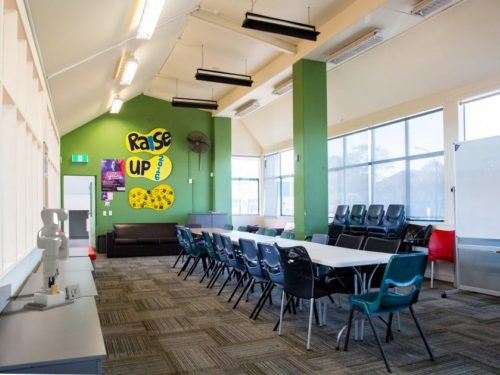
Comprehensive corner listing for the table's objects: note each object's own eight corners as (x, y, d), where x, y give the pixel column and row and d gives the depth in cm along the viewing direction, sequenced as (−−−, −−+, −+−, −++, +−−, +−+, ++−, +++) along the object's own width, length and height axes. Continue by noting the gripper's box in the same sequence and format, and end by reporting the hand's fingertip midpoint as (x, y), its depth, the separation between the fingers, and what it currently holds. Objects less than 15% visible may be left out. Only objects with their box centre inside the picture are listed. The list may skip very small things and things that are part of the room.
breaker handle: (51, 293, 249) (51, 285, 249) (55, 292, 252) (55, 284, 252) (53, 293, 248) (53, 285, 248) (57, 293, 251) (57, 284, 251)
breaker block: (23, 307, 247) (23, 292, 247) (54, 299, 266) (54, 286, 266) (43, 310, 238) (43, 295, 238) (74, 303, 257) (74, 289, 257)
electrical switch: (69, 300, 265) (69, 285, 265) (64, 300, 267) (63, 286, 268) (81, 297, 273) (81, 283, 274) (76, 297, 275) (75, 283, 276)
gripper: (38, 257, 252) (38, 287, 252) (54, 259, 245) (53, 289, 245) (49, 256, 259) (49, 285, 258) (64, 257, 252) (64, 287, 251)
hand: (51, 287), depth 251 cm, fingers closed
